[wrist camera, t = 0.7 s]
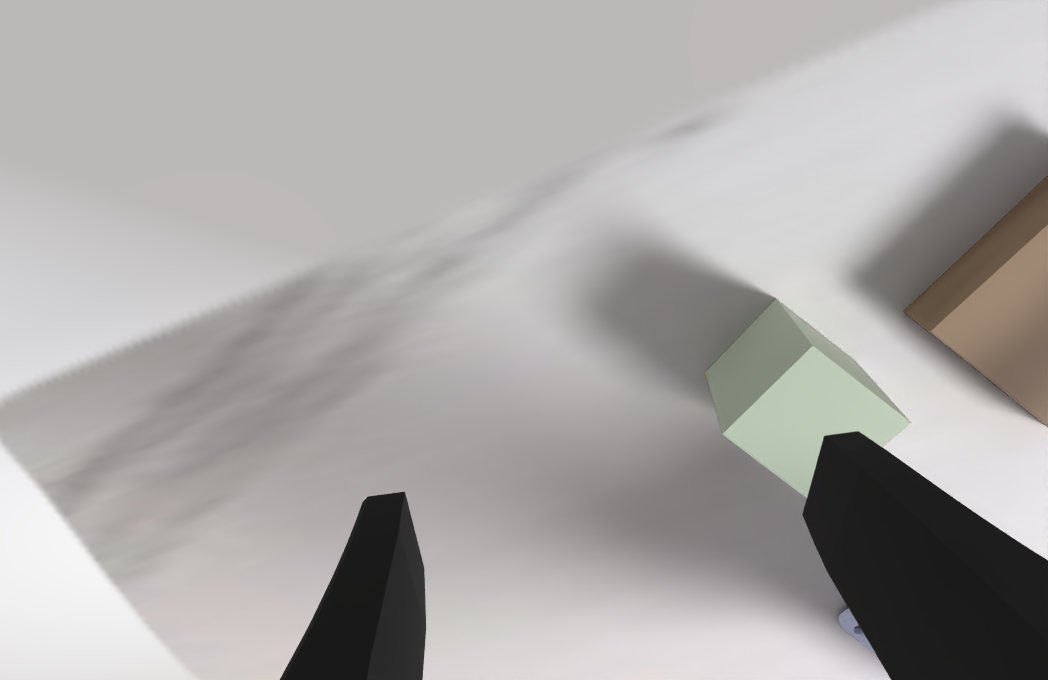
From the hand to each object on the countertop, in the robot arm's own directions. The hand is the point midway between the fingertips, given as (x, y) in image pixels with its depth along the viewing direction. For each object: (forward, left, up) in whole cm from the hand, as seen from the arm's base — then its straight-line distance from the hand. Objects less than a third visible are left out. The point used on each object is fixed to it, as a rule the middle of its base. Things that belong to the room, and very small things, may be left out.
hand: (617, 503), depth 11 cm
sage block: (-8, -1, -18) cm, 20 cm away
